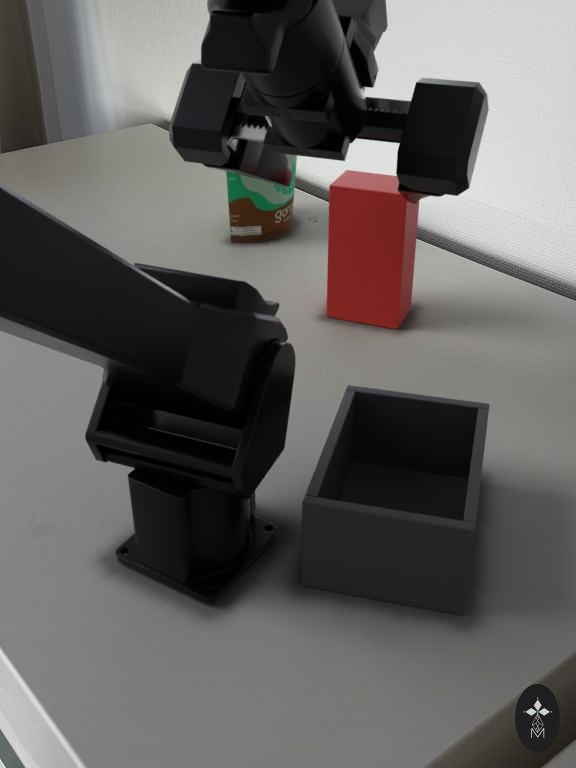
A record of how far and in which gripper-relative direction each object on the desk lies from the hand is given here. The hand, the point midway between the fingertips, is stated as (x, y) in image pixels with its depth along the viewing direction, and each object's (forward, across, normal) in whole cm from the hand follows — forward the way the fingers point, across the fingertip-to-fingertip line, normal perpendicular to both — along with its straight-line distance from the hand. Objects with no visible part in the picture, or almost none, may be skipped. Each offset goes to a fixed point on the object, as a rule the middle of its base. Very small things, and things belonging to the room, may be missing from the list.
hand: (351, 188), depth 60 cm
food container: (+24, +15, -6) cm, 28 cm away
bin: (-5, -10, +22) cm, 25 cm away
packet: (+13, 0, +5) cm, 14 cm away
